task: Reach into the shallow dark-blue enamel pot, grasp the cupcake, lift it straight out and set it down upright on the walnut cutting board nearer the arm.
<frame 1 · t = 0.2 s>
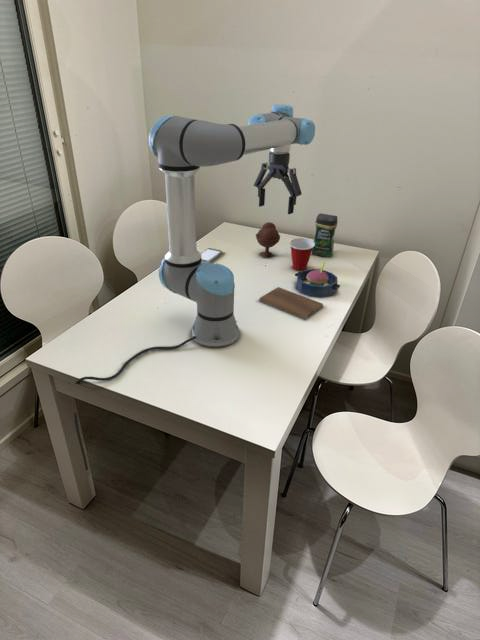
hand: (275, 209, 176), 28 cm above the table, tool pointing down, fingers open, 13 cm apart
cutting board: (290, 304, 169), on the table
ice cream bowl: (266, 255, 208), on the table
cupcake: (316, 288, 181), resting in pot
coffee jar: (322, 254, 211), on the table
plastic cup: (299, 268, 197), on the table
smartphone: (207, 257, 204), on the table
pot: (316, 287, 181), on the table
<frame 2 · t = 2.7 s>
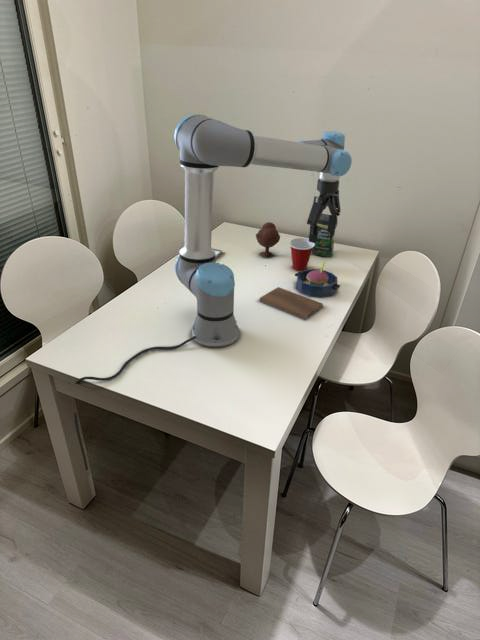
hand: (321, 237, 171), 21 cm above the table, tool pointing down, fingers open, 13 cm apart
nothing on the table moved.
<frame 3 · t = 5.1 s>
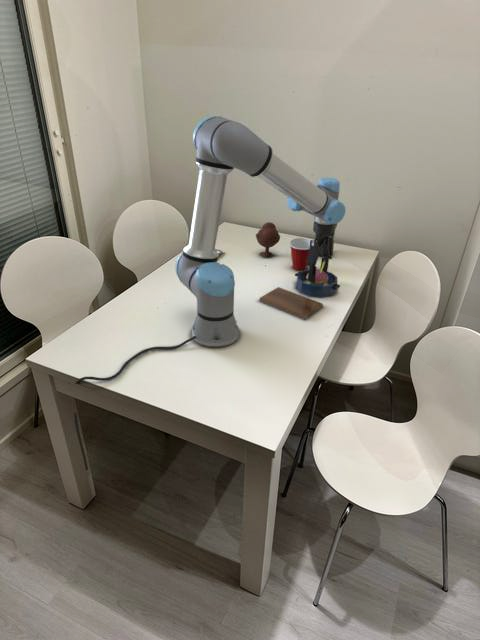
hand: (317, 277, 179), 5 cm above the table, tool pointing down, fingers closed on cupcake, 8 cm apart
cupcake: (316, 288, 181), resting in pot, touching gripper
everything else where it was.
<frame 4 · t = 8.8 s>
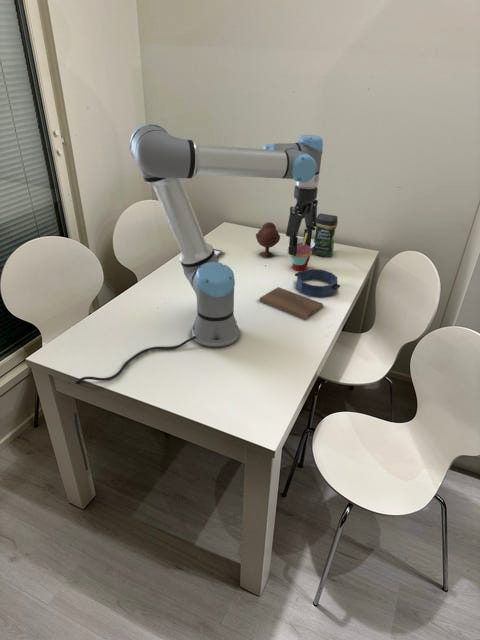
hand: (299, 250, 160), 20 cm above the table, tool pointing down, fingers closed on cupcake, 8 cm apart
cupcake: (298, 263, 163), point 16 cm above the table, touching gripper
everything else where it was.
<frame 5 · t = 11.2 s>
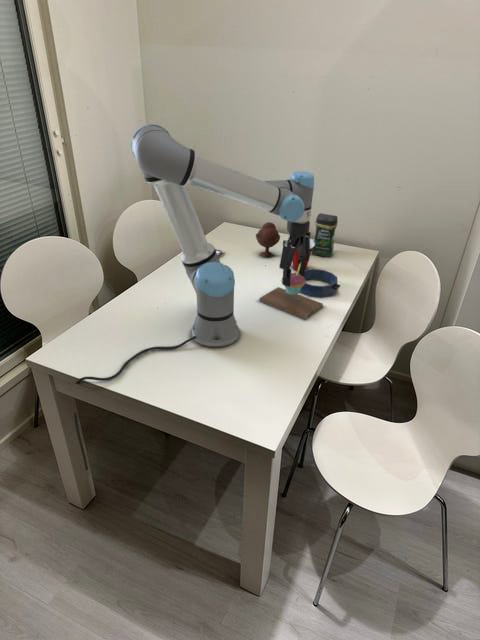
hand: (293, 280, 164), 10 cm above the table, tool pointing down, fingers closed on cupcake, 8 cm apart
cupcake: (292, 292, 167), point 5 cm above the table, touching gripper
everything else where it was.
when the fingers open (6 cm above the table, at t = 12.6 s): cupcake stays where it is, resting on cutting board.
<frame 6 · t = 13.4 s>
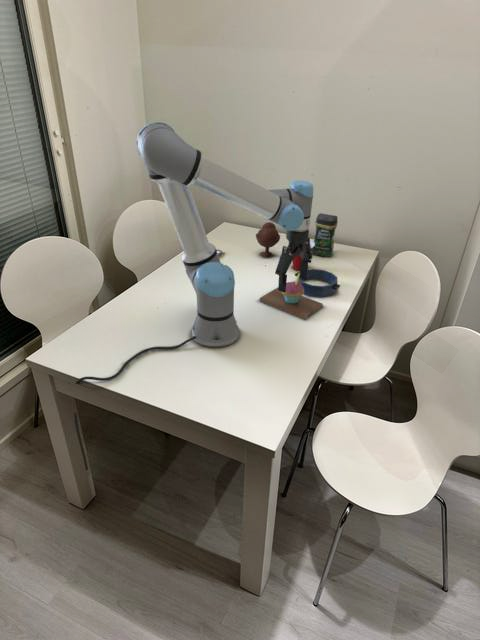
hand: (292, 284, 165), 8 cm above the table, tool pointing down, fingers open, 13 cm apart
cupcake: (291, 301, 169), point 1 cm above the table, touching cutting board
everything else where it was.
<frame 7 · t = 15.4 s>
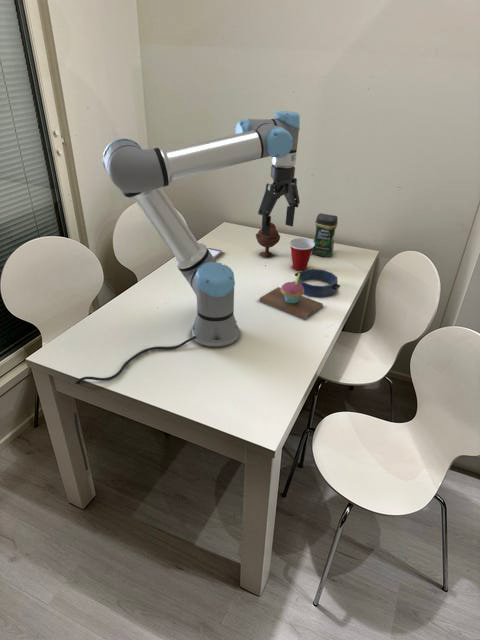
hand: (277, 230, 154), 29 cm above the table, tool pointing down, fingers open, 13 cm apart
nothing on the table moved.
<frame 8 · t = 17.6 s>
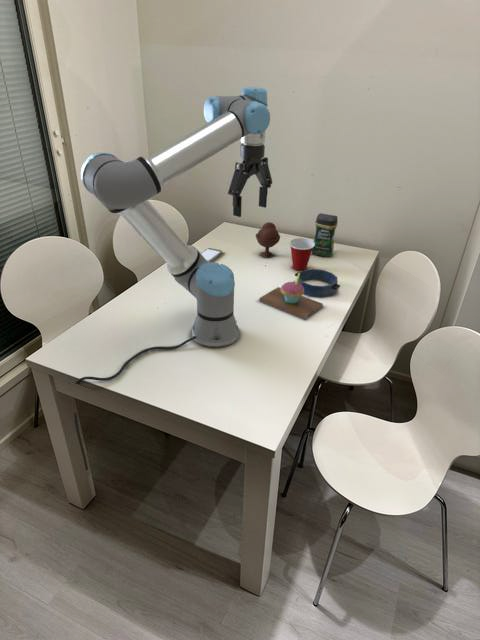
hand: (250, 211, 151), 35 cm above the table, tool pointing down, fingers open, 13 cm apart
nothing on the table moved.
at the end: cupcake inside the target area on the cutting board (0.1 cm from its centre), point 1.3 cm above the cutting board's base; cupcake tilted 0°; the gripper is holding nothing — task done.
